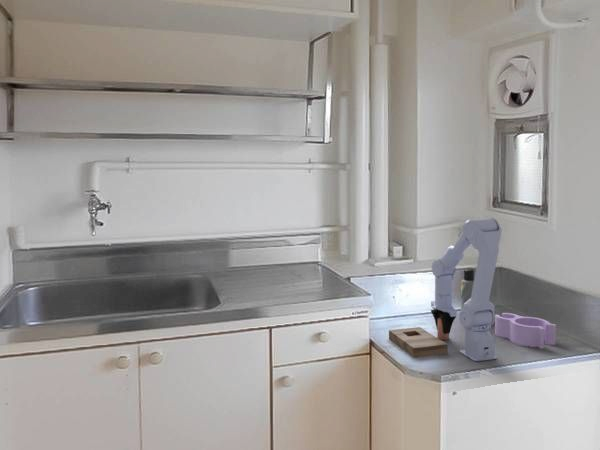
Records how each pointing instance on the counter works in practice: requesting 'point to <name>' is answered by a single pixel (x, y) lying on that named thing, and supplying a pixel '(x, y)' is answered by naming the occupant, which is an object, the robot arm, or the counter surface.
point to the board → (418, 342)
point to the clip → (525, 330)
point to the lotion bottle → (467, 285)
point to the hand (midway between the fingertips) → (443, 331)
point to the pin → (441, 331)
